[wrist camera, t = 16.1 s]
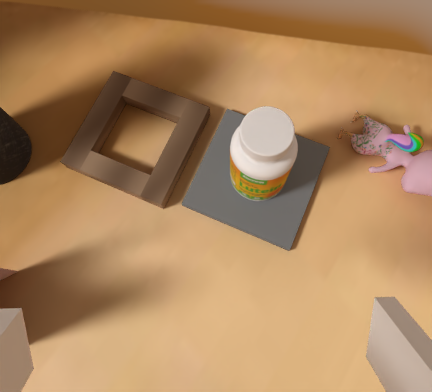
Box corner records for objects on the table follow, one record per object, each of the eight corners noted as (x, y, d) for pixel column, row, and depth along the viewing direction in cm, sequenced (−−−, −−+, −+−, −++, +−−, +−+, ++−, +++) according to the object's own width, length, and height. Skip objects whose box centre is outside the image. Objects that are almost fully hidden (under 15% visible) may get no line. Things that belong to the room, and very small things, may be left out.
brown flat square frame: (67, 167, 38) (60, 161, 37) (117, 79, 41) (113, 70, 39) (163, 208, 37) (160, 204, 35) (210, 114, 39) (209, 106, 38)
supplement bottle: (231, 203, 36) (232, 167, 26) (228, 151, 37) (227, 99, 28) (288, 200, 36) (309, 162, 26) (282, 148, 37) (300, 95, 28)
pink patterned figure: (325, 156, 39) (467, 246, 33) (332, 125, 34) (503, 226, 28) (361, 115, 40) (504, 195, 35) (373, 77, 35) (545, 166, 29)
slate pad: (182, 205, 37) (181, 203, 36) (227, 111, 39) (227, 108, 39) (288, 250, 35) (289, 249, 34) (328, 149, 38) (330, 147, 37)
